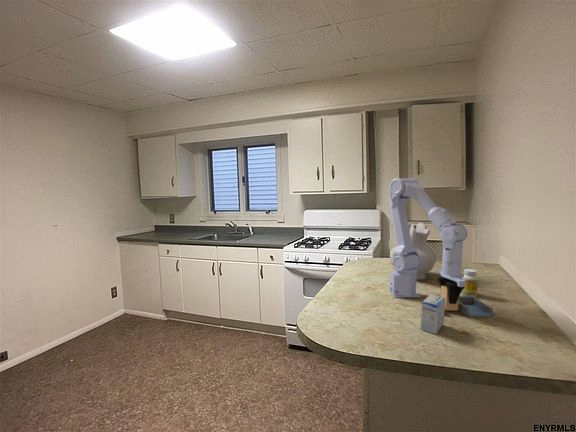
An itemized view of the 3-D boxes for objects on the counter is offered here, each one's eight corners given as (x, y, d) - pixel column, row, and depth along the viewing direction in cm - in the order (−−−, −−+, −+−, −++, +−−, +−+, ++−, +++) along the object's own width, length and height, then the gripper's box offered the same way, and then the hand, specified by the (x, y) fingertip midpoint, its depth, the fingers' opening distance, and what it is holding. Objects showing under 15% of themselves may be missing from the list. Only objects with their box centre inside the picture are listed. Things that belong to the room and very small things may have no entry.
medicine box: (428, 321, 99) (429, 293, 98) (443, 325, 96) (445, 297, 96) (420, 330, 93) (421, 301, 92) (436, 334, 90) (438, 305, 89)
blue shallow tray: (443, 316, 103) (443, 308, 102) (427, 302, 114) (428, 295, 114) (493, 316, 103) (494, 309, 102) (472, 302, 114) (473, 296, 114)
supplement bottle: (465, 291, 126) (466, 267, 125) (479, 295, 122) (481, 270, 121) (457, 294, 123) (459, 269, 122) (472, 298, 119) (474, 273, 118)
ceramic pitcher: (440, 288, 133) (448, 229, 131) (391, 281, 136) (399, 223, 133) (426, 273, 155) (433, 222, 152) (384, 268, 158) (390, 218, 155)
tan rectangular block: (445, 310, 106) (446, 289, 105) (440, 305, 110) (441, 285, 109) (457, 310, 106) (459, 289, 105) (451, 305, 110) (453, 285, 109)
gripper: (476, 267, 99) (473, 309, 100) (453, 256, 113) (450, 293, 115) (453, 266, 99) (450, 309, 100) (432, 255, 113) (430, 293, 115)
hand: (449, 300), depth 107 cm, fingers closed on tan rectangular block, 4 cm apart
